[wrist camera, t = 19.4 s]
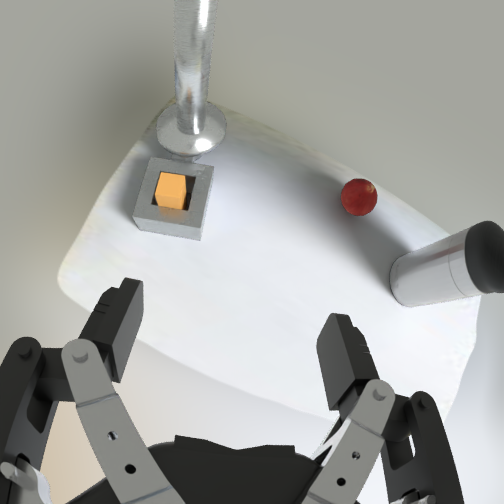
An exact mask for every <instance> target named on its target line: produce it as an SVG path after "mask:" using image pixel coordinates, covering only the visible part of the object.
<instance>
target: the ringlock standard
mask: <svg viewBox="0 0 504 504" xmlns="http://www.w3.org/2000/svg"><path fill="white" fill-rule="evenodd" d="M217 5H218V0H174V67H175V96H176V103H174V104H172V105H171V106H169V107H168V108H166V109H165V110H164V111H163V112H162V113H161V115H160V116H159V118H158V120H157V123H156V132H157V138H158V140H159V142H160V144H161V145H162V146H163V147H164V148H165V149H166V150H167V151H169V152H171V153H172V156H171V160H170V159H163V158H156V157H150V160H149V163H148V166H147V169H146V172H145V175H144V178H143V181H142V185H141V188H140V191H139V194H138V198H137V201H136V205H135V208H134V212H133V215H132V217H133V219H134V221H135V222H136V224H137V226H138V228H139V229H140V230H142V231H148V232H154V233H159V234H165V235H171V236H176V237H182V238H187V239H193V240H199V241H200V240H201V235H202V230H203V225H204V220H205V215H206V210H207V206H208V201H209V196H210V191H211V187H212V180H213V171H214V167H213V166H208V165H202V164H196V163H194V161H195V160H197V159H199V158H200V157H201V156H202V155H203V154H206V153H208V152H210V151H212V150H214V149H215V148H216V147H217V146H218V145H219V144H220V143H221V142H222V140H223V138H224V136H225V132H226V119H225V116H224V114H223V113H222V111H221V110H220V109H219V108H218V107H216V106H215V105H213V104H211V103H209V102H207V95H208V84H209V73H210V63H211V53H212V44H213V36H214V28H215V20H216V12H217ZM161 172H163V173H170V174H177V175H184V176H185V183H186V192H187V193H192V197H191V201H190V205H189V210H188V211H186V210H180V209H174V208H168V207H162V206H158V203H157V200H156V196H155V192H156V188H157V185H158V181H159V178H160V174H161Z"/></svg>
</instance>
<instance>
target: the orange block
mask: <svg viewBox="0 0 504 504" xmlns="http://www.w3.org/2000/svg"><path fill="white" fill-rule="evenodd" d="M155 196H156V200H157V203H158V206H162V207H168V208H174V209H180V210H186V208H187V197H186V183H185V176H184V175H177V174H170V173H163V172H161V174H160V178H159V181H158V185H157V188H156V192H155Z"/></svg>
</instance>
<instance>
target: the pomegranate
mask: <svg viewBox="0 0 504 504" xmlns="http://www.w3.org/2000/svg"><path fill="white" fill-rule="evenodd" d="M341 201H342V205H343V207H344V208H345V210H346V211H348V212H349V213H350V214H353V215H355V216H363V215H366V214H368V213H369V212H371V211H372V210H373V209H374V207H375V205H376V203H377V192H376V189H375V187H374V185H373V184H372V183H371V182H369V181H367V180H365V179H353V180H351V181H349V182H348V183H346V184H345V186H344V188H343V189H342V192H341Z"/></svg>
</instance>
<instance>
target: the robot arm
mask: <svg viewBox="0 0 504 504" xmlns="http://www.w3.org/2000/svg"><path fill="white" fill-rule="evenodd" d="M390 285H391V290H392V292H393V295H394V296H395V298H396V299H397V301H398V302H399V303H401V304H402V305H403V306H406V307H417V306H423V305H430V304H436V303H442V302H448V301H453V300H459V299H464V298H469V297H474V296H479V295H483V294H488V293H493V292H496V293H504V231H503V229H502V228H501V227H500V226H499V225H497V224H496V223H494V222H492V221H484V222H481V223H478V224H476V225H474V226H472V227H470V228H467V229H465V230H463V231H460V232H458V233H456V234H454V235H451V236H449V237H447V238H445V239H442V240H440V241H437V242H435V243H433V244H430V245H428V246H426V247H423V248H421V249H418V250H416V251H413V252H411V253H408V254H406V255H403V256H401V257H399V258H398V259H397V260H396V261H395V262H394V264H393V266H392V268H391V272H390ZM142 317H143V281H140V280H135V279H131V278H124V280H123V282H122V283H121V285H120V287H119V288H114V287H111V288H109V289H108V290H107V291H105V292H104V293H103V294H102V296H101V297H100V299H99V301H98V304H96V306H95V308H94V311H92V313H91V315H90V317H89V319H88V321H87V323H86V325H85V326H84V328H83V330H82V332H81V334H80V336H79V337H78V339H75V340H72V341H70V342H68V343H67V344H66V345H65V346H64V348H41V345H40V343H39V342H38V341H37V340H36V339H34V338H32V337H22V338H19V339H17V340H16V341H15V342H14V343H13V344H12V345H11V347H10V349H9V350H8V352H7V354H6V356H5V358H4V360H3V362H2V364H1V366H0V504H53V503H52V502H51V498H50V486H49V483H48V481H47V479H46V478H45V476H44V475H43V474H42V473H40V467H41V463H42V459H43V455H44V451H45V447H46V443H47V440H48V436H49V432H50V429H51V425H52V422H53V419H54V416H55V412H56V409H57V406H58V403H59V401H68V402H75V403H76V409H77V412H78V415H79V418H80V420H81V423H82V425H83V428H84V430H85V433H86V435H87V437H88V440H89V442H90V444H91V447H92V449H93V451H94V453H95V455H96V457H97V460H98V461H99V464H100V465H101V468H102V469H103V472H104V473H105V476H106V477H105V478H104V479H102V480H101V481H99V482H98V483H96V484H95V485H93V486H92V487H91V488H89V489H88V490H86V491H85V492H83V493H81V494H80V495H78V496H77V497H75V498H74V499H72V500H71V501H69V502H67V503H66V504H360V503H359V502H358V501H357V500H356V499H357V497H358V495H359V494H360V492H361V490H362V488H363V486H364V484H365V482H366V480H367V478H368V476H369V474H370V472H371V470H372V468H373V466H374V464H375V462H376V459H377V457H378V455H379V453H380V452H381V458H382V463H383V469H384V475H385V480H386V487H387V494H388V501H389V504H464V500H463V495H462V491H461V486H460V482H459V478H458V474H457V470H456V466H455V463H454V460H453V455H452V452H451V449H450V445H449V442H448V439H447V435H446V432H445V429H444V426H443V423H442V420H441V417H440V414H439V411H438V409H437V406H436V403H435V401H434V399H433V398H432V397H431V396H430V395H429V394H428V393H426V392H423V391H418V392H415V393H414V394H413V395H412V396H411V397H410V398H409V397H405V396H401V395H397V394H395V393H394V390H393V389H392V387H391V386H390V385H389V384H388V383H386V382H385V381H383V380H380V378H379V375H378V373H377V370H376V367H375V364H374V362H373V359H372V356H371V354H370V351H369V348H368V347H367V343H366V340H365V338H364V335H363V334H362V333H361V332H360V331H359V329H358V328H357V327H353V325H352V322H351V320H350V317H349V316H348V315H345V314H337V313H331V314H330V315H329V317H328V319H327V321H326V323H325V325H324V327H323V329H322V331H321V333H320V335H319V337H318V339H317V345H316V348H317V354H318V358H319V363H320V368H321V372H322V377H323V382H324V386H325V391H326V396H327V401H328V406H329V410H339V413H340V415H339V416H338V417H337V419H336V421H335V422H334V424H333V425H332V427H331V429H330V430H329V432H328V433H327V435H326V437H325V438H324V440H323V441H322V443H321V444H320V446H319V447H318V449H317V450H316V451H315V452H314V453H313V455H312V456H311V457H310V458H308V457H306V456H304V455H301V454H299V453H295V447H294V445H291V446H290V445H263V446H258V447H252V448H247V449H240V450H235V449H231V448H228V447H225V446H222V445H219V444H216V443H213V442H211V441H208V440H204V439H197V438H191V437H185V436H178V435H175V440H174V442H165V443H159V444H155V445H152V446H150V447H146V445H145V444H144V442H143V440H142V439H141V437H140V435H139V433H138V432H137V429H136V428H135V426H134V424H133V422H132V420H131V418H130V416H129V414H128V412H127V410H126V409H125V406H124V405H123V403H122V400H121V398H120V397H119V395H118V394H117V393H116V391H115V390H114V387H113V385H112V381H113V382H117V383H120V381H121V379H122V375H123V373H124V370H125V367H126V364H127V360H128V357H129V355H130V352H131V349H132V346H133V343H134V340H135V338H136V335H137V332H138V330H139V327H140V324H141V321H142ZM410 435H412V439H413V443H414V447H415V456H414V457H413V453H412V449H411V445H410V441H409V437H408V436H410Z"/></svg>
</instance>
